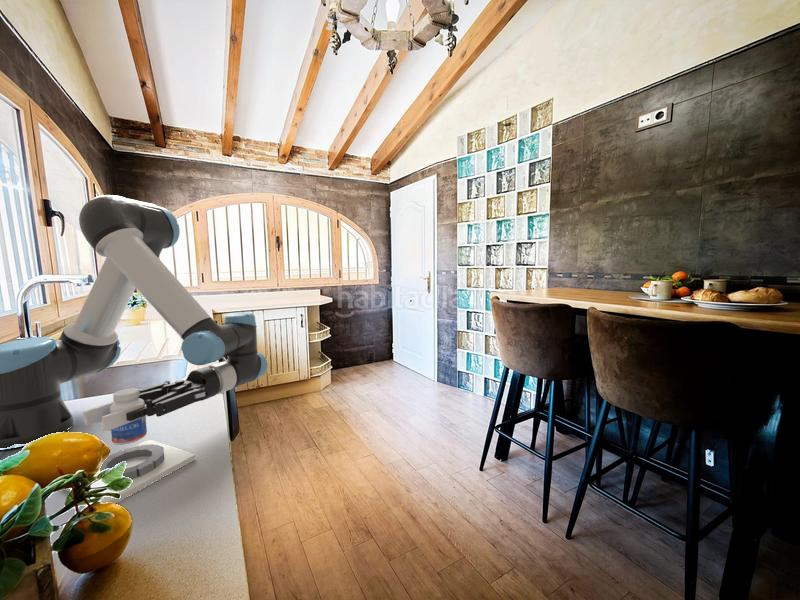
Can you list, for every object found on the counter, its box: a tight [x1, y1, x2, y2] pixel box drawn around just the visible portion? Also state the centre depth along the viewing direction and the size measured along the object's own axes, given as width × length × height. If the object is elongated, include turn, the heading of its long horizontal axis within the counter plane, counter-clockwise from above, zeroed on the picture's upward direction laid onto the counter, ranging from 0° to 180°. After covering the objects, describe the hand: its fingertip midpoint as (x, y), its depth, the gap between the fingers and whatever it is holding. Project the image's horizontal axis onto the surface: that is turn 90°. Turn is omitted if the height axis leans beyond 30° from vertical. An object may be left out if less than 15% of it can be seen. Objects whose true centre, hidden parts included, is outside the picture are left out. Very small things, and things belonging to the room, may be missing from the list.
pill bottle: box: [109, 387, 148, 446], centre depth 65 cm, size 6×5×10 cm
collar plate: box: [65, 439, 197, 504], centre depth 66 cm, size 16×16×3 cm
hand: (94, 421), depth 60 cm, fingers closed on pill bottle, 5 cm apart
